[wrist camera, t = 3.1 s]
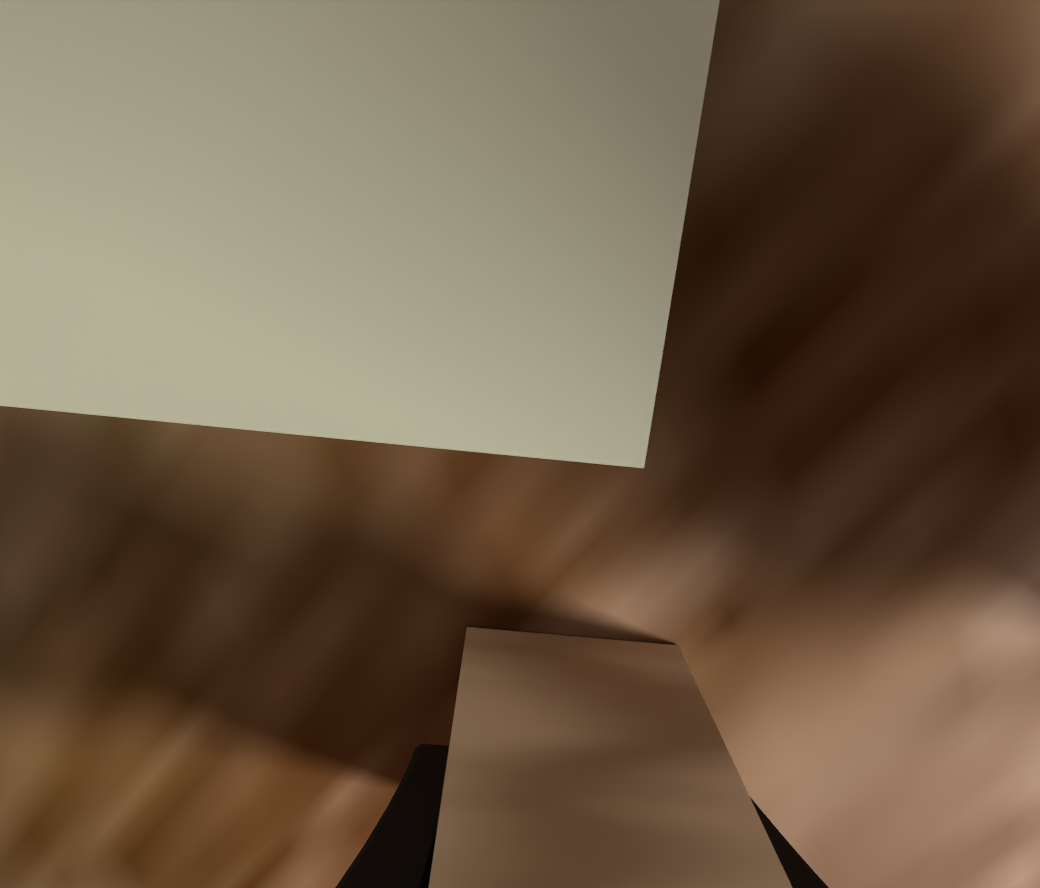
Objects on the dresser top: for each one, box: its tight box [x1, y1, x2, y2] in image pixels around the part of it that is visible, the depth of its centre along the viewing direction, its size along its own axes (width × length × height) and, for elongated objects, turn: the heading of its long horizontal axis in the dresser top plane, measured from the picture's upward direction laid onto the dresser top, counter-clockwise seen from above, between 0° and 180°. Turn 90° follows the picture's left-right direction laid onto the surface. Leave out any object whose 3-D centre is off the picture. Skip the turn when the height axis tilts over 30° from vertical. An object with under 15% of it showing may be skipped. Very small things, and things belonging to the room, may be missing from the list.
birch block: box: [429, 627, 792, 888], centre depth 10 cm, size 4×4×6 cm
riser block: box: [0, 0, 720, 468], centre depth 8 cm, size 10×10×4 cm
